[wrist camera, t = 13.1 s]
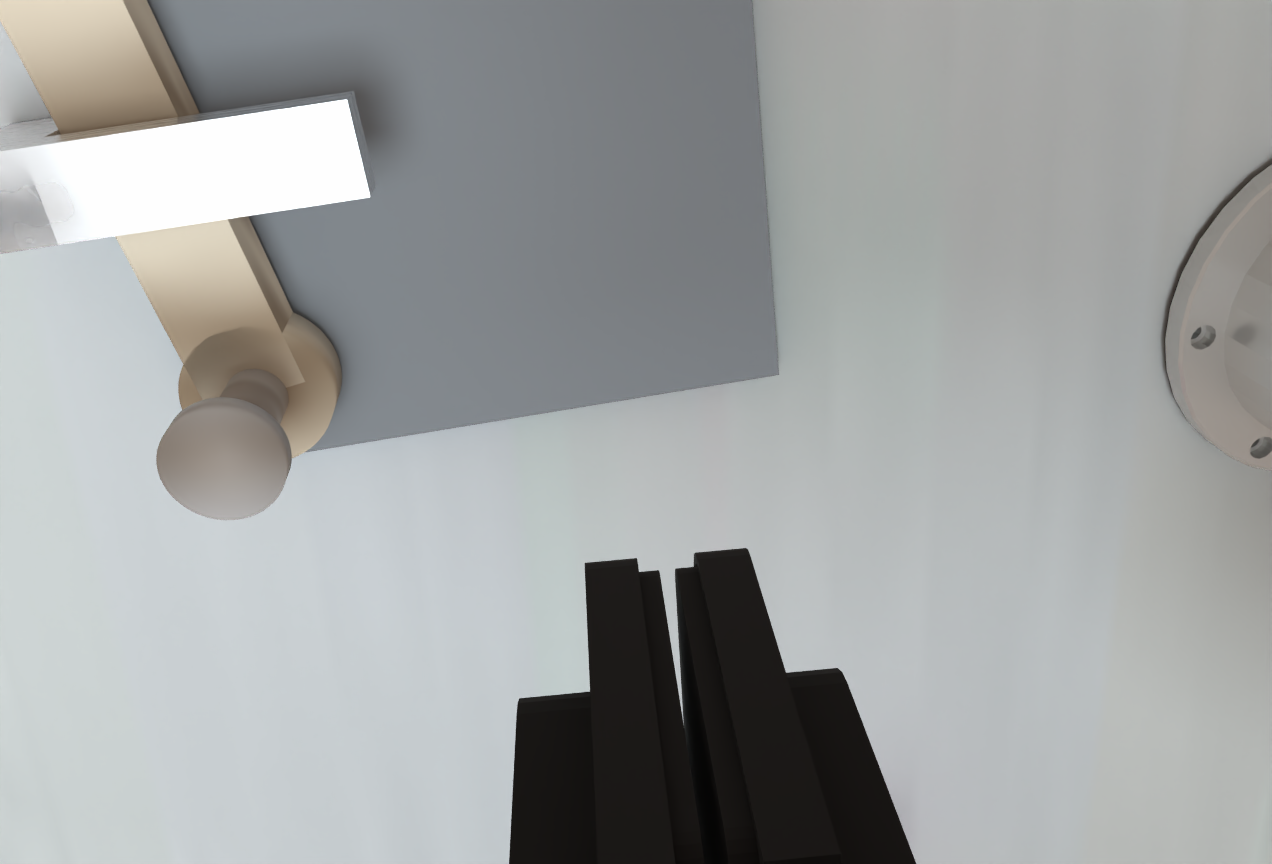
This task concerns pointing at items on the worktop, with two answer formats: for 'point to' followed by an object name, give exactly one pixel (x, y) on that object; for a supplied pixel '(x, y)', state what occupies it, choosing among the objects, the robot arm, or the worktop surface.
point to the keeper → (178, 170)
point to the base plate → (513, 197)
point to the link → (190, 271)
